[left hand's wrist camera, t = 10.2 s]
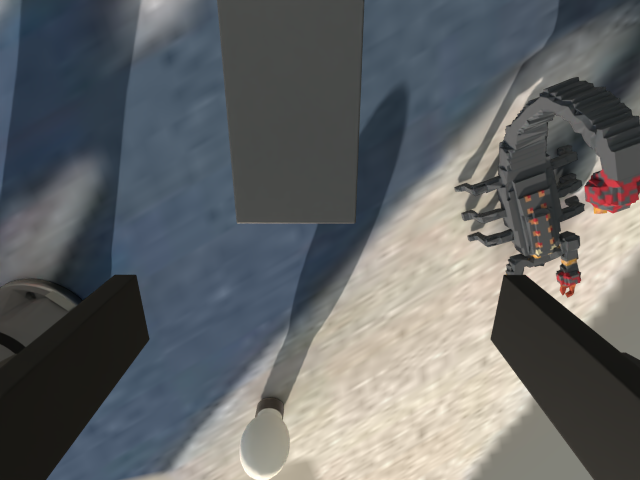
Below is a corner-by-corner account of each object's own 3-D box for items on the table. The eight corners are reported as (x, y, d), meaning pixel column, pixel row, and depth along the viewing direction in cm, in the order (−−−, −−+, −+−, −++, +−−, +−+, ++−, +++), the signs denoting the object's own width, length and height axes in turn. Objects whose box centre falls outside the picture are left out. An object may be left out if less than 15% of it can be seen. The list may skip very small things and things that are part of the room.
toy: (556, 64, 38) (753, 27, 20) (586, 273, 46) (742, 371, 29) (434, 113, 39) (521, 118, 22) (486, 306, 48) (577, 416, 31)
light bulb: (248, 420, 56) (231, 491, 45) (251, 386, 53) (234, 453, 43) (290, 424, 56) (284, 496, 46) (295, 391, 53) (289, 459, 43)
